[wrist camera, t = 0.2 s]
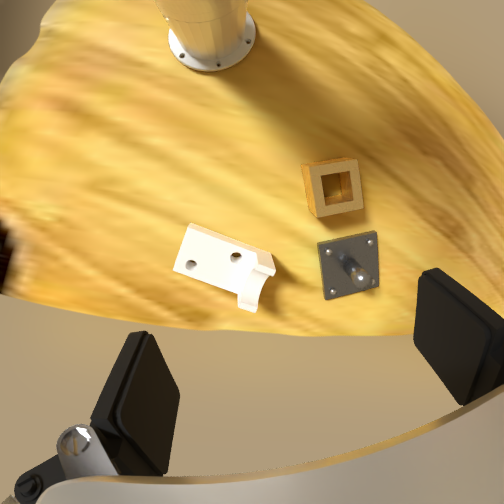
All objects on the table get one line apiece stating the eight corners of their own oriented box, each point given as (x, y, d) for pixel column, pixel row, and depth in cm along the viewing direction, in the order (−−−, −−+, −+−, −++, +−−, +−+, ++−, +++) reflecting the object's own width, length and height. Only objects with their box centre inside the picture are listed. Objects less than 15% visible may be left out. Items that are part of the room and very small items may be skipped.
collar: (300, 164, 43) (308, 167, 38) (344, 157, 42) (357, 159, 38) (308, 209, 45) (317, 217, 40) (351, 201, 45) (363, 208, 40)
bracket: (270, 251, 47) (276, 270, 40) (252, 288, 49) (255, 313, 42) (191, 220, 45) (183, 235, 38) (176, 261, 47) (167, 281, 40)
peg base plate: (317, 242, 47) (329, 259, 40) (374, 230, 47) (393, 244, 40) (323, 297, 50) (335, 319, 44) (376, 283, 50) (393, 302, 44)
